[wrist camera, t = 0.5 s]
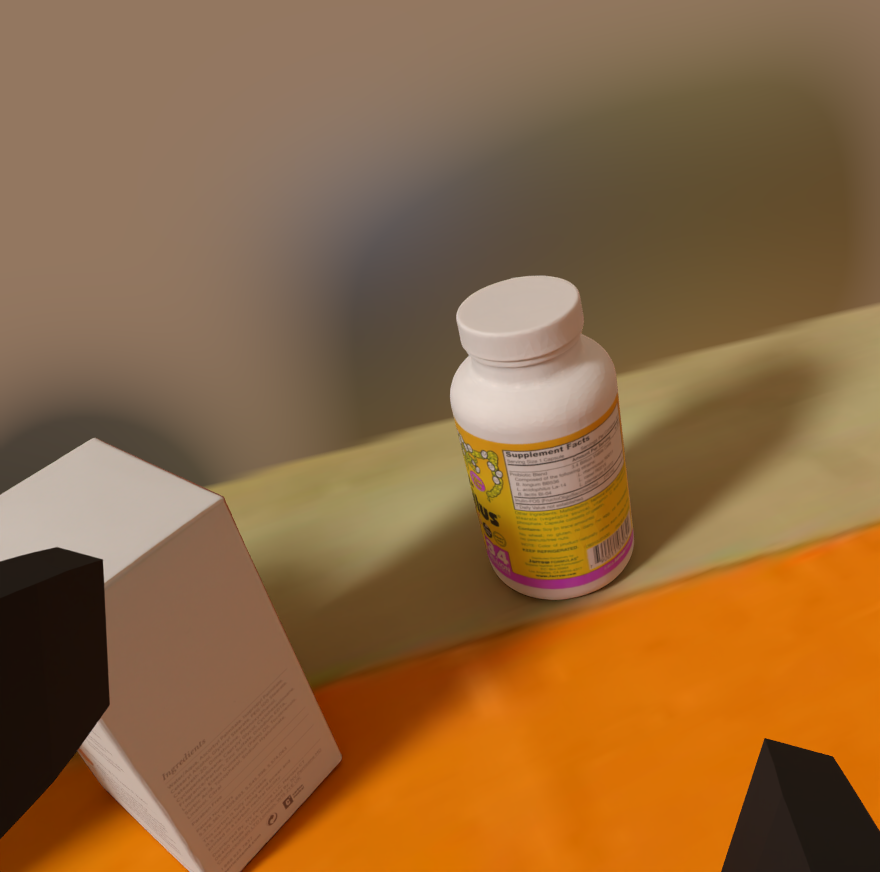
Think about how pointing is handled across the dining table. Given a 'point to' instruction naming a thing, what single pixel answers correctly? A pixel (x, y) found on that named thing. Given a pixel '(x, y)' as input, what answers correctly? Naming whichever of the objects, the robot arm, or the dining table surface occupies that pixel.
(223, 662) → the small box
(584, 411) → the supplement bottle
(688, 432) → the dining table surface
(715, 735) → the dining table surface
